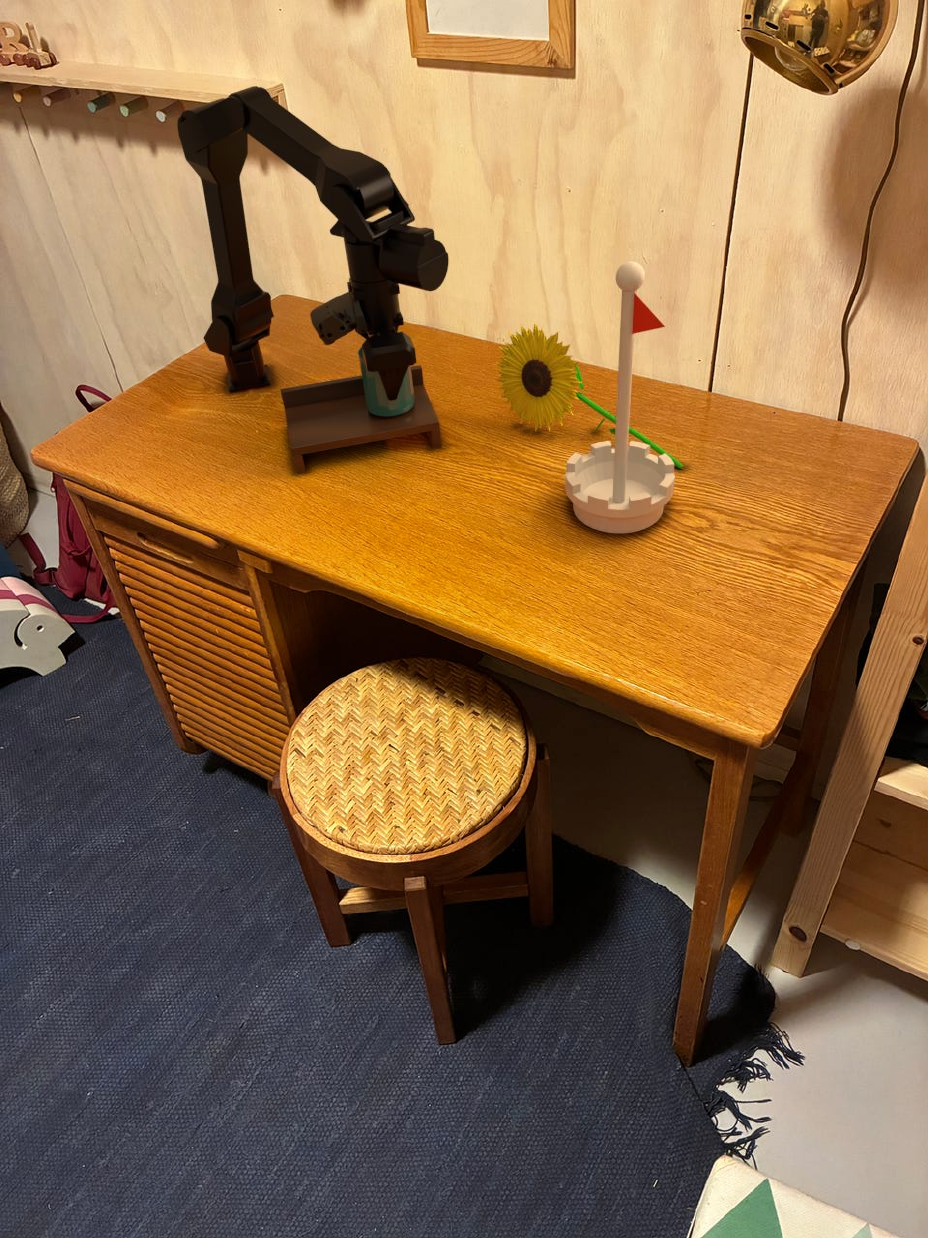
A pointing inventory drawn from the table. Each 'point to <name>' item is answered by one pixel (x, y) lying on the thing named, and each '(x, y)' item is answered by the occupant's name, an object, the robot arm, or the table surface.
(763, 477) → the table surface
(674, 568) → the table surface
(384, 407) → the glazed pot
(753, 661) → the table surface
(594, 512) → the flag stand
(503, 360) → the decorative plant
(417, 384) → the desk shelf
